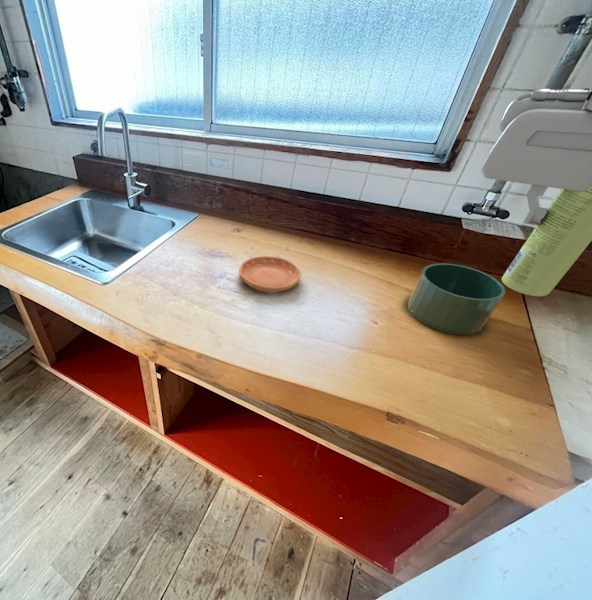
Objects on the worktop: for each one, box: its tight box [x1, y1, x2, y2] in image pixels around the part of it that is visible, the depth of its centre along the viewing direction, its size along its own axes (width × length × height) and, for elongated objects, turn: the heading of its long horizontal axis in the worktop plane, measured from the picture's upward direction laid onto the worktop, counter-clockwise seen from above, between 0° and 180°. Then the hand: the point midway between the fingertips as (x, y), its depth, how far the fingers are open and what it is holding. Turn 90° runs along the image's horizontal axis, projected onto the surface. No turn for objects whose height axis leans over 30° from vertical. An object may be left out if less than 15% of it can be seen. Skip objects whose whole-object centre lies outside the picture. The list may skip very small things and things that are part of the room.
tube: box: [501, 186, 592, 297], centre depth 36 cm, size 6×5×20 cm
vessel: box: [407, 262, 506, 336], centre depth 70 cm, size 14×14×9 cm
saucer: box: [238, 255, 302, 294], centre depth 86 cm, size 16×16×3 cm
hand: (565, 230), depth 37 cm, fingers closed on tube, 5 cm apart
